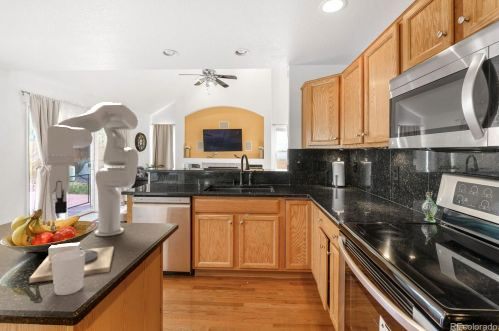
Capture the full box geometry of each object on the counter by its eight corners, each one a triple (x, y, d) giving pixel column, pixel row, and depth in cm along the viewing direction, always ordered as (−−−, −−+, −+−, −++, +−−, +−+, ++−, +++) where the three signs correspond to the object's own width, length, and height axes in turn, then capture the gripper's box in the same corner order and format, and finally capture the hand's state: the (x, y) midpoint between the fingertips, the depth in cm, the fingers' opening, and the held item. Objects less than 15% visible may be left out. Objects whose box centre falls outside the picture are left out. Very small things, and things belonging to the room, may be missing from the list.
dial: (99, 250, 100) (99, 236, 100) (95, 262, 89) (95, 247, 89) (54, 256, 94) (54, 241, 94) (44, 269, 83) (44, 252, 83)
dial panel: (113, 250, 106) (113, 238, 106) (109, 271, 87) (109, 258, 87) (50, 257, 98) (49, 245, 97) (29, 283, 78) (29, 268, 78)
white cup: (48, 299, 70) (47, 262, 70) (56, 285, 77) (55, 251, 77) (82, 293, 73) (82, 257, 73) (87, 280, 80) (87, 248, 80)
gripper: (50, 160, 97) (51, 210, 98) (43, 161, 84) (43, 218, 85) (75, 160, 101) (75, 208, 102) (71, 161, 88) (71, 216, 89)
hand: (61, 212), depth 93 cm, fingers closed
